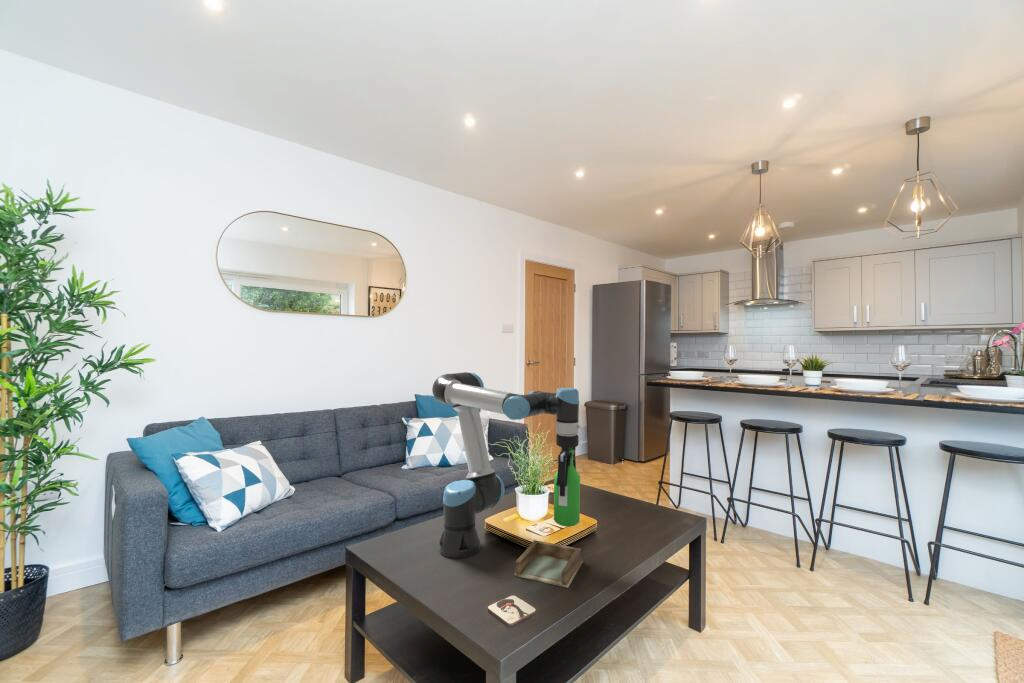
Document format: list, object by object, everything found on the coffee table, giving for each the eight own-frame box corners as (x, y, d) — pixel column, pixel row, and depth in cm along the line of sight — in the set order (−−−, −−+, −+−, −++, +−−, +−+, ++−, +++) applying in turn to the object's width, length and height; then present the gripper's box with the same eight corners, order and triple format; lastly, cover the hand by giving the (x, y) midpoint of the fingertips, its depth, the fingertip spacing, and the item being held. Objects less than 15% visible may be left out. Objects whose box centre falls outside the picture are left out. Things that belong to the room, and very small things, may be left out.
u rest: (514, 575, 143) (514, 561, 143) (533, 552, 158) (533, 539, 158) (568, 587, 135) (567, 572, 135) (582, 562, 151) (582, 549, 151)
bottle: (579, 528, 145) (580, 452, 144) (552, 526, 146) (553, 451, 146) (579, 518, 153) (580, 446, 153) (554, 516, 155) (555, 444, 154)
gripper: (570, 441, 138) (569, 513, 138) (585, 428, 158) (584, 491, 158) (547, 439, 141) (546, 510, 141) (565, 427, 161) (564, 489, 161)
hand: (566, 500), depth 150 cm, fingers closed on bottle, 9 cm apart
